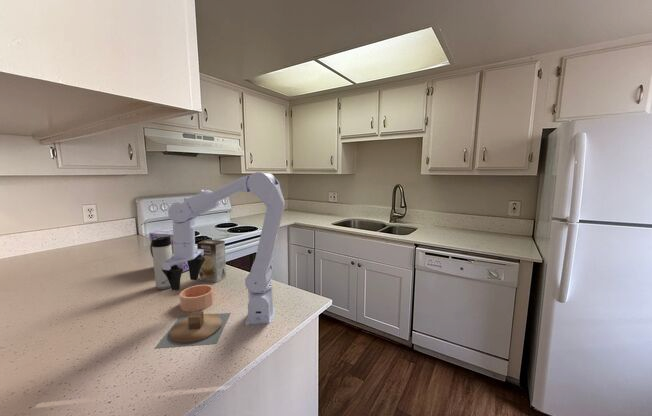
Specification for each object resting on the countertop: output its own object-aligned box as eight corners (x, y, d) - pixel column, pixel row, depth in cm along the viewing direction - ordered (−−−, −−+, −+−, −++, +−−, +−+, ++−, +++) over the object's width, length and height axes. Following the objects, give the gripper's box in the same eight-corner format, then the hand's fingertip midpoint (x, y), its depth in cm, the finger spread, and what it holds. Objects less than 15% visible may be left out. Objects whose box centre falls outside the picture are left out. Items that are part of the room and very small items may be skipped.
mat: (216, 345, 67) (216, 343, 67) (154, 350, 66) (154, 348, 66) (231, 314, 82) (231, 312, 82) (180, 317, 81) (180, 316, 81)
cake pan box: (151, 268, 123) (147, 231, 121) (161, 264, 128) (157, 229, 125) (181, 273, 116) (178, 234, 114) (191, 269, 121) (188, 232, 119)
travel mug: (166, 290, 99) (162, 239, 97) (152, 289, 101) (146, 238, 98) (179, 283, 105) (175, 235, 103) (165, 282, 107) (160, 234, 104)
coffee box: (198, 280, 109) (195, 242, 107) (209, 274, 115) (206, 238, 113) (217, 282, 106) (214, 244, 104) (227, 276, 113) (225, 240, 110)
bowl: (208, 312, 84) (207, 297, 83) (175, 314, 83) (174, 299, 82) (217, 297, 94) (217, 284, 93) (188, 299, 93) (187, 285, 92)
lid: (213, 341, 68) (212, 326, 68) (160, 345, 67) (159, 329, 66) (226, 314, 81) (226, 301, 80) (182, 317, 80) (181, 304, 79)
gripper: (190, 234, 87) (190, 274, 89) (152, 246, 73) (154, 292, 75) (209, 237, 85) (209, 277, 87) (174, 249, 71) (175, 296, 73)
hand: (185, 284), depth 81 cm, fingers open, 7 cm apart
